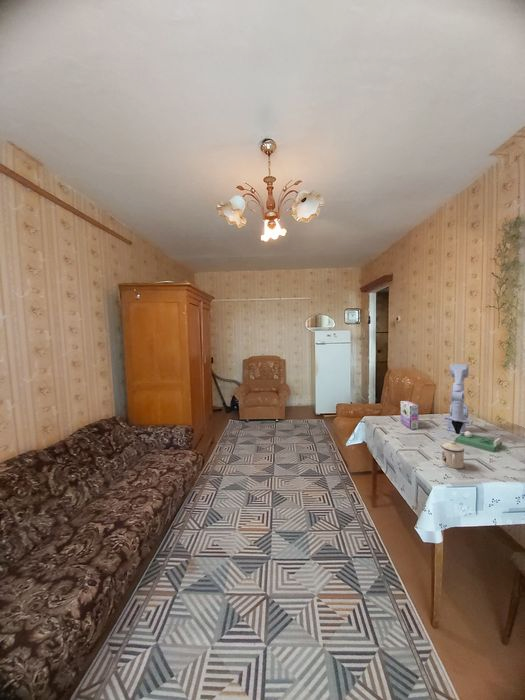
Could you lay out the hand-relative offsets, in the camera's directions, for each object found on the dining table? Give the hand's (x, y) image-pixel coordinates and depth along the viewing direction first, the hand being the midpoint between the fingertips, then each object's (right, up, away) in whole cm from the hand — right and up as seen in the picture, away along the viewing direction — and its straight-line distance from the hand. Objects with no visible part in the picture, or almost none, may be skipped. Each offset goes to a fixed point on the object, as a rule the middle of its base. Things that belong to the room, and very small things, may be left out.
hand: (457, 433), depth 166 cm
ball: (+3, +1, -4) cm, 5 cm away
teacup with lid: (-26, -6, -33) cm, 42 cm away
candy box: (-16, -3, +25) cm, 30 cm away
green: (+6, -4, -8) cm, 11 cm away
